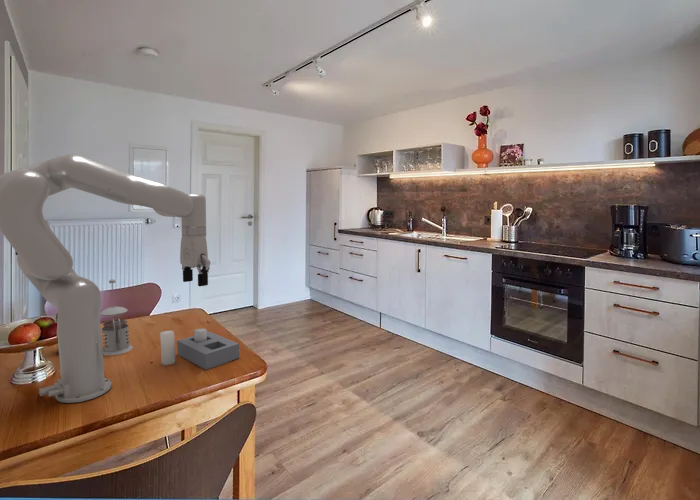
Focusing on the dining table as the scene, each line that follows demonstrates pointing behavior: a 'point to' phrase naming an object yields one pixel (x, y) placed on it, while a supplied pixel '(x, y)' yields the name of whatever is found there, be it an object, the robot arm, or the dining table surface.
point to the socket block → (207, 349)
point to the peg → (167, 347)
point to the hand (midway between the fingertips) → (195, 283)
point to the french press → (115, 331)
